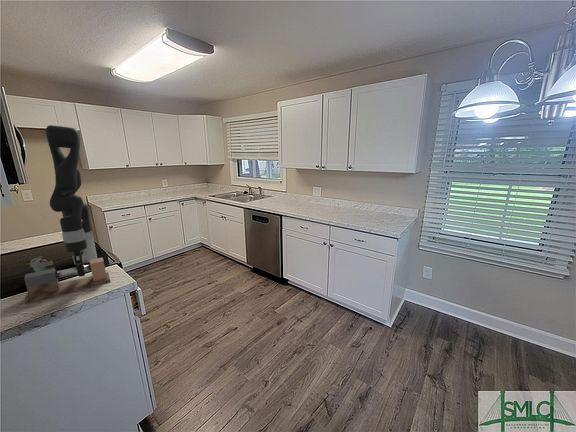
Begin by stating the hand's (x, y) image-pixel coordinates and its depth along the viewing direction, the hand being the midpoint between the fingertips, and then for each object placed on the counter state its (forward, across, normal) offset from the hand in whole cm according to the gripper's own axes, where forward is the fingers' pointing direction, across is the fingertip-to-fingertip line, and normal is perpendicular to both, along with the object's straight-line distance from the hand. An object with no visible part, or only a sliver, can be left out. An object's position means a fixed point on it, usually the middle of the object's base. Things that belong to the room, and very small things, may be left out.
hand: (81, 272), depth 112 cm
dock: (+6, 0, +4) cm, 7 cm away
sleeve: (0, 0, +13) cm, 13 cm away
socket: (+5, 0, -6) cm, 8 cm away
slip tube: (0, 0, +3) cm, 3 cm away
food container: (+6, +18, +15) cm, 24 cm away
